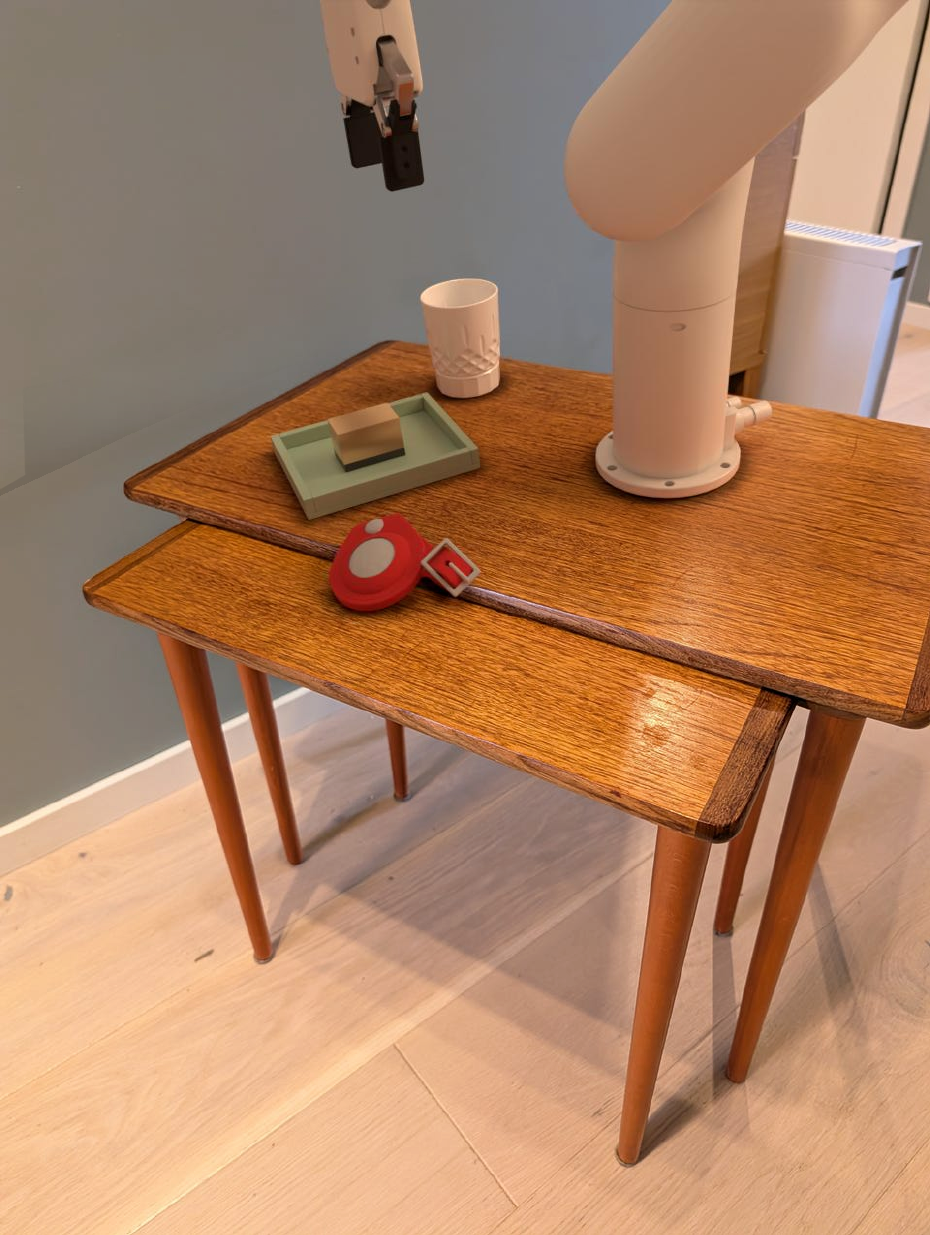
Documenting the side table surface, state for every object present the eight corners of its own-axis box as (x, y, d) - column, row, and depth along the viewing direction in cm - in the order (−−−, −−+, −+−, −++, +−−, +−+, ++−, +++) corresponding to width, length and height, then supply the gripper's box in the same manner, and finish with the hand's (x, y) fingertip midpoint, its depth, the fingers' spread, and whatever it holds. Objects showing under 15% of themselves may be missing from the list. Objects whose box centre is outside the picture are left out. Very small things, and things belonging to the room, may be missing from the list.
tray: (430, 410, 93) (427, 391, 92) (480, 468, 83) (478, 448, 82) (275, 454, 89) (270, 435, 88) (308, 520, 79) (303, 500, 78)
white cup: (480, 406, 92) (470, 311, 86) (418, 394, 96) (404, 302, 90) (518, 374, 97) (512, 282, 91) (458, 364, 101) (447, 275, 95)
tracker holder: (320, 613, 67) (323, 515, 73) (345, 644, 70) (346, 548, 76) (473, 571, 64) (463, 473, 70) (492, 605, 68) (481, 509, 74)
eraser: (393, 439, 88) (387, 402, 85) (405, 455, 85) (399, 417, 83) (335, 456, 87) (327, 418, 84) (345, 472, 84) (337, 434, 81)
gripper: (437, -85, 60) (465, 187, 71) (362, -82, 73) (395, 149, 84) (331, -69, 58) (376, 208, 69) (272, -68, 71) (318, 165, 82)
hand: (386, 175), depth 77 cm, fingers open, 9 cm apart
